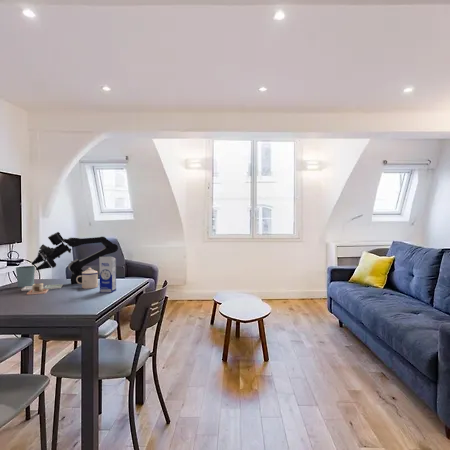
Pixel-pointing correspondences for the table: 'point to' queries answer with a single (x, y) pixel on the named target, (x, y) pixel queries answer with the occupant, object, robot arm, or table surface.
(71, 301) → the table surface
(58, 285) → the dish
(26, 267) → the teal patterned cup
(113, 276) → the milk carton
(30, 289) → the dish
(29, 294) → the dish
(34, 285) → the letter cube
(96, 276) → the teacup with lid
